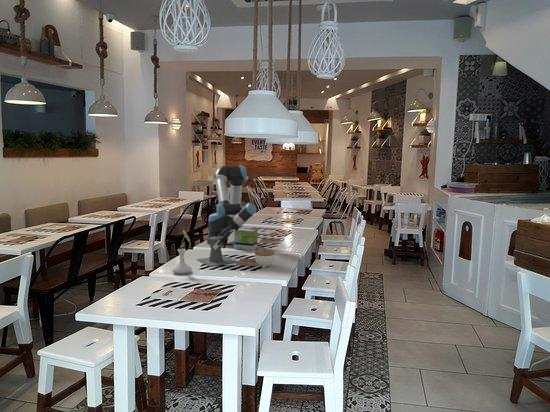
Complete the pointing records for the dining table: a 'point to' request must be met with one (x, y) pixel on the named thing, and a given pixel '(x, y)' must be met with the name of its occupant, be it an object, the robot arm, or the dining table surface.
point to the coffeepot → (216, 254)
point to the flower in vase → (182, 260)
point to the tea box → (245, 239)
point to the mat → (225, 261)
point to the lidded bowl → (264, 257)
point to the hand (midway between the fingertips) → (213, 246)
